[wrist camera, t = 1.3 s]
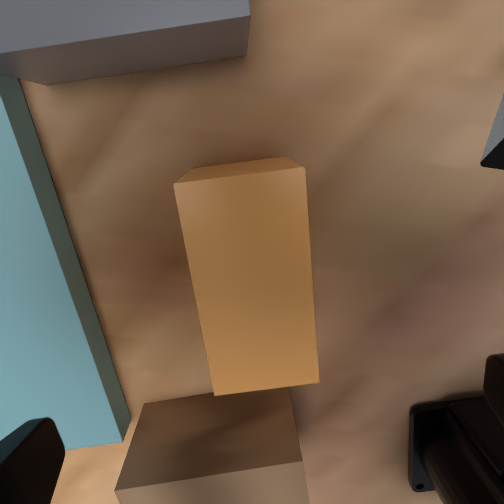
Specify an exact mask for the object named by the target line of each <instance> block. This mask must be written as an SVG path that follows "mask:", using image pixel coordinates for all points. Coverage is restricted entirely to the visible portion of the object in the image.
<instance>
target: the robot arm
mask: <svg viewBox="0 0 504 504" xmlns="http://www.w3.org/2000/svg"><path fill="white" fill-rule="evenodd" d="M483 390H484V394H485V396H484V397H477V398H470V399H463V400H456V401H449V402H442V403H435V404H428V405H421V406H417V407H415V408H413V409H412V411H411V413H410V455H409V484H410V486H411V488H412V490H413V491H415V492H425V491H432V490H436V492H437V494H438V495H439V497H440V499H441V501H442V503H443V504H504V353H500V354H493V355H490V356H488V358H487V359H486V365H485V375H484V384H483ZM64 457H65V446H64V443H63V441H62V438H61V436H60V434H59V431H58V429H57V427H56V424H55V422H54V420H53V419H51V418H50V417H43V418H36V419H31V420H28V421H26V422H25V423H24V424H22V425H21V426H19V427H18V428H17V429H15V430H14V431H13V432H11V433H10V434H9V435H7V436H6V437H5V438H3V439H2V440H0V504H50V503H51V500H52V496H53V493H54V490H55V487H56V484H57V480H58V477H59V474H60V471H61V468H62V465H63V461H64Z"/></svg>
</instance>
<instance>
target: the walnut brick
mask: <svg viewBox="0 0 504 504" xmlns="http://www.w3.org/2000/svg"><path fill="white" fill-rule="evenodd" d="M114 491H115V494H116V496H117V498H118V501H119V503H120V504H309V498H308V492H307V485H306V479H305V472H304V466H303V460H302V455H301V450H300V445H299V440H298V435H297V430H296V425H295V420H294V415H293V410H292V405H291V400H290V395H289V390H288V387H281V388H273V389H266V390H258V391H250V392H242V393H234V394H226V395H218V396H214V392H213V393H207V394H200V395H194V396H188V397H182V398H176V399H170V400H164V401H158V402H151V403H145V404H144V406H143V409H142V412H141V414H140V417H139V420H138V423H137V426H136V429H135V432H134V435H133V438H132V441H131V444H130V447H129V450H128V452H127V455H126V458H125V461H124V464H123V467H122V470H121V473H120V476H119V479H118V482H117V485H116V488H115V490H114Z"/></svg>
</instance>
